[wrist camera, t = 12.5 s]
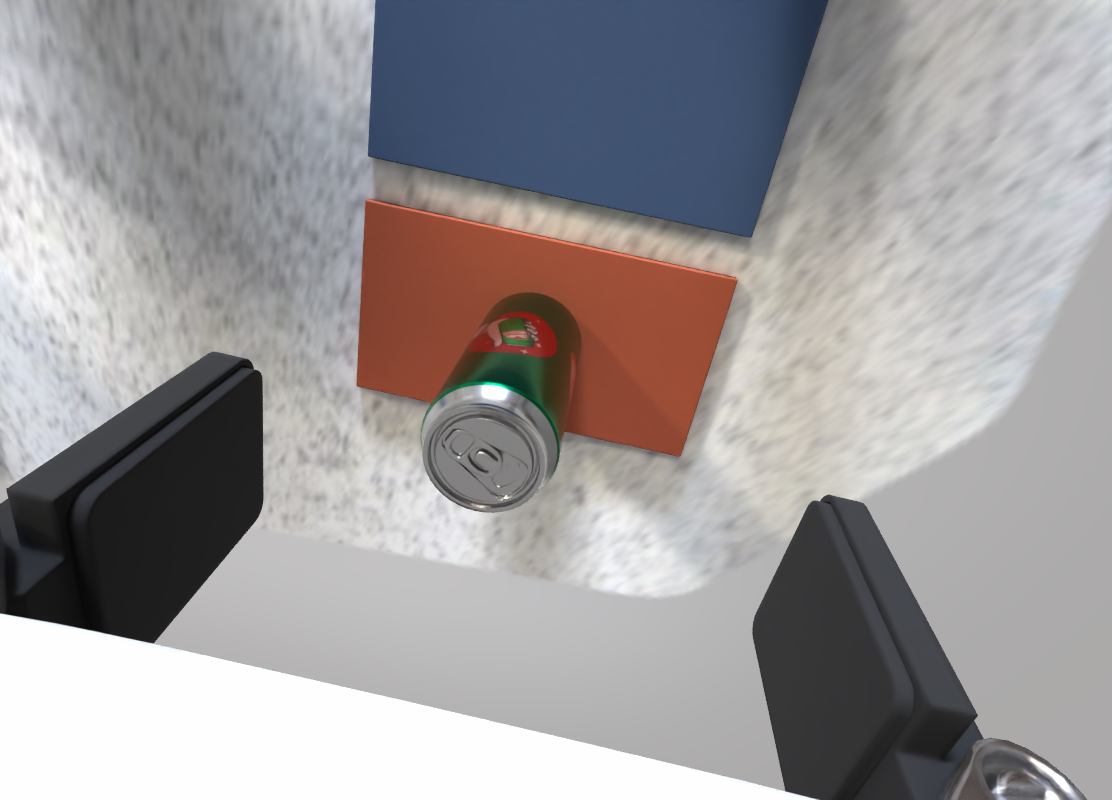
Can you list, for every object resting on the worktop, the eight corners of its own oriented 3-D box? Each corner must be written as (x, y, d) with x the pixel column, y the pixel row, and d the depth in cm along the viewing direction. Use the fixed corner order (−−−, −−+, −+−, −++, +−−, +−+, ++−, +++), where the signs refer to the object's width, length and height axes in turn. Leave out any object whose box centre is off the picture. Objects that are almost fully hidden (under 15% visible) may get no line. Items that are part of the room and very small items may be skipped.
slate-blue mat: (371, 155, 30) (367, 156, 30) (384, -108, 26) (380, -111, 25) (749, 235, 30) (751, 238, 30) (830, -16, 26) (834, -17, 25)
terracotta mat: (359, 382, 36) (356, 386, 35) (369, 198, 31) (365, 200, 31) (679, 452, 36) (680, 457, 35) (736, 277, 31) (737, 280, 31)
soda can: (541, 400, 34) (499, 545, 24) (464, 341, 33) (384, 466, 23) (602, 331, 32) (586, 457, 22) (522, 267, 31) (464, 366, 21)
